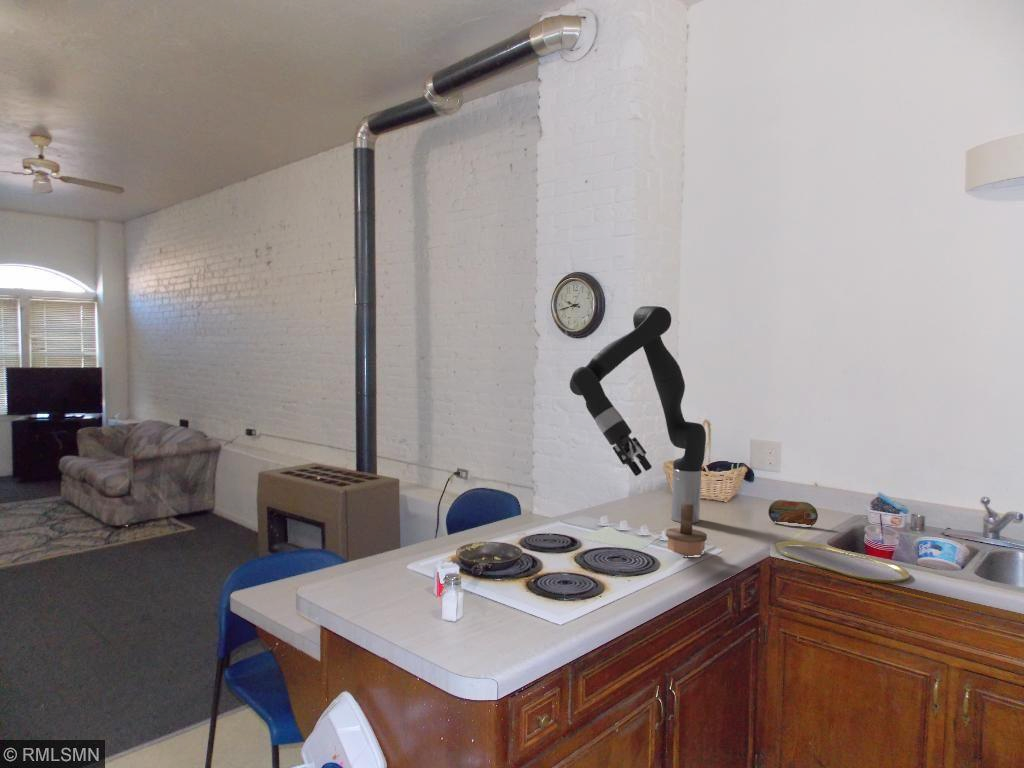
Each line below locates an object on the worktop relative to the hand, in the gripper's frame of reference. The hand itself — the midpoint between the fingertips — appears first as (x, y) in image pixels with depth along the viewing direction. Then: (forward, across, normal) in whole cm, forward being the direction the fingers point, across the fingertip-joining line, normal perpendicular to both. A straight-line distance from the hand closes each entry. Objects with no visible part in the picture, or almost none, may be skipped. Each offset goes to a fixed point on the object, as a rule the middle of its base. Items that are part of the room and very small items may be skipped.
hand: (644, 471), depth 186 cm
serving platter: (+48, +14, -26) cm, 57 cm away
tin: (+40, +51, -12) cm, 66 cm away
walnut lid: (+21, -3, -1) cm, 21 cm away
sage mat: (+13, -3, +17) cm, 21 cm away
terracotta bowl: (+25, -4, +2) cm, 25 cm away
